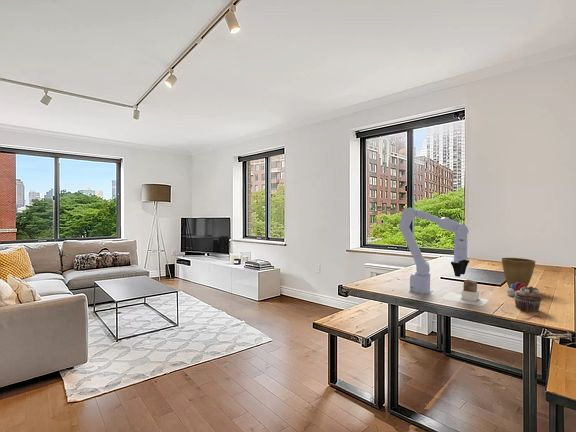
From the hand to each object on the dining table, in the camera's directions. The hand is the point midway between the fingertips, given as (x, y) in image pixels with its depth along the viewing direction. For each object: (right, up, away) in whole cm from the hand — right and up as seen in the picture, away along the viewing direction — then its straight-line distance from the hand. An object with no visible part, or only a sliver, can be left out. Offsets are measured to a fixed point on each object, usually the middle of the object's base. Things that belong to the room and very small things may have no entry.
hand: (459, 275), depth 165 cm
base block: (+1, -10, -7) cm, 12 cm away
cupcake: (+18, -11, -22) cm, 30 cm away
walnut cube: (+1, -6, -7) cm, 10 cm away
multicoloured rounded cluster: (+28, -11, -2) cm, 30 cm away
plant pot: (+38, -10, +13) cm, 41 cm away
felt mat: (-2, -10, -7) cm, 13 cm away
